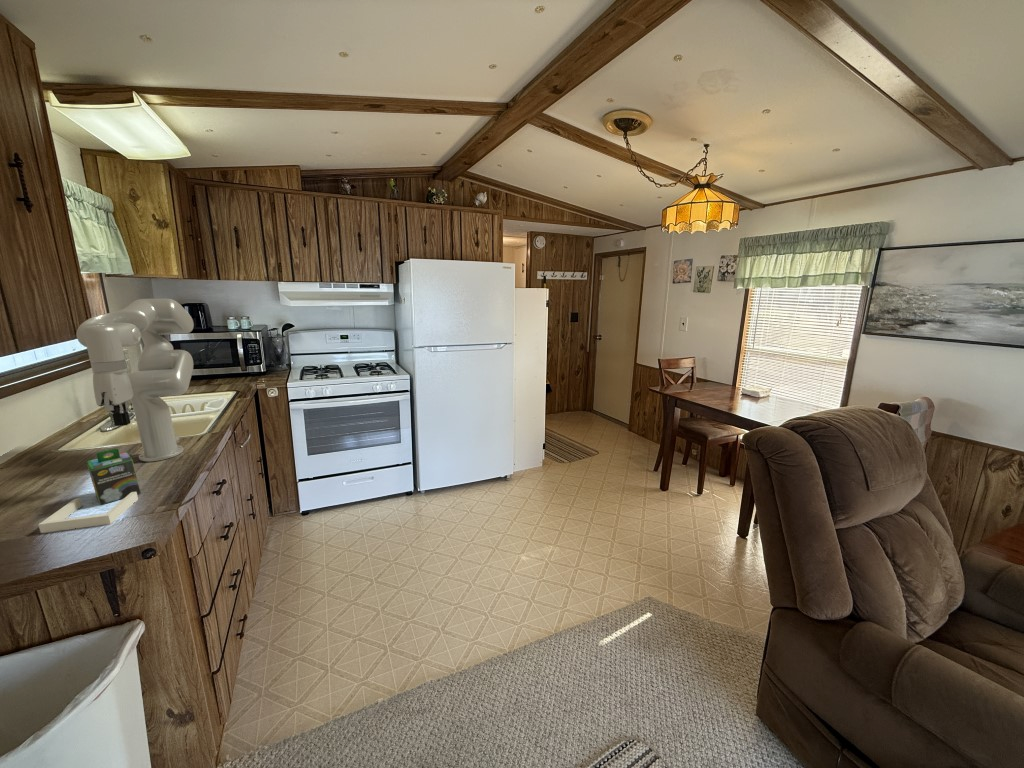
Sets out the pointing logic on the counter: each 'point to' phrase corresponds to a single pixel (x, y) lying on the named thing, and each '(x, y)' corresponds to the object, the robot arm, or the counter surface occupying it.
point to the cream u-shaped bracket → (60, 523)
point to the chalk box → (113, 476)
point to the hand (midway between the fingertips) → (122, 424)
